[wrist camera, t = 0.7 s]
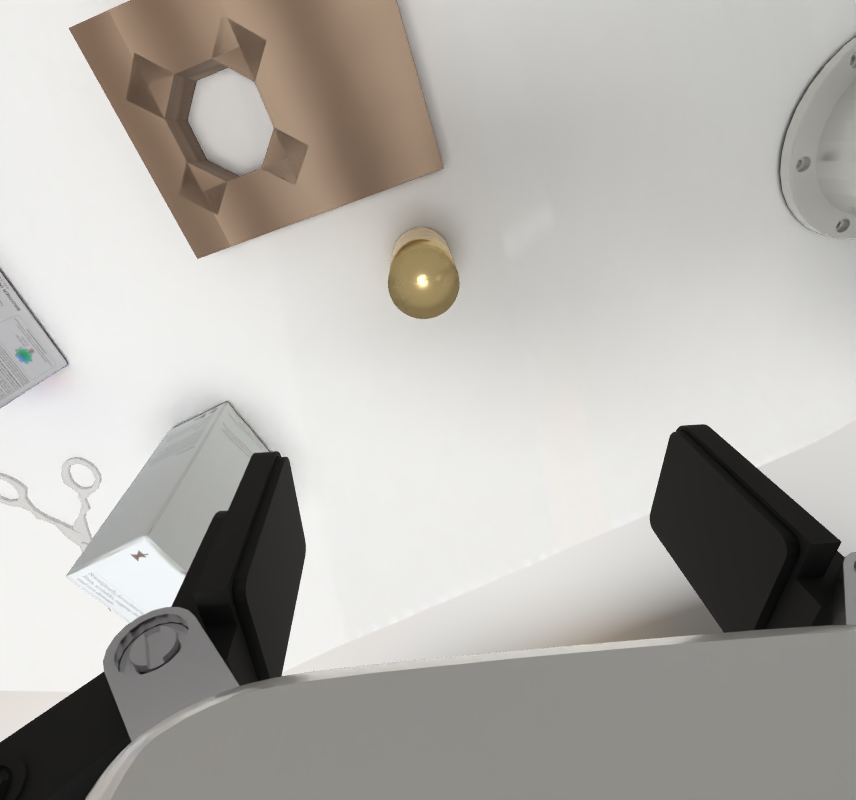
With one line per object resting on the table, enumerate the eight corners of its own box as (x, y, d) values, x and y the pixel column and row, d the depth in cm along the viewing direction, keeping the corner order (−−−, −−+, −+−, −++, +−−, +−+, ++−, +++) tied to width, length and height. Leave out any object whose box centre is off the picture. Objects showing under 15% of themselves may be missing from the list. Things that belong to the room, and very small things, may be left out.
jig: (370, -80, 25) (366, -107, 22) (440, 165, 30) (443, 168, 28) (102, 39, 27) (68, 28, 24) (214, 249, 32) (197, 258, 30)
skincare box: (171, 427, 39) (50, 573, 26) (232, 397, 38) (137, 534, 25) (235, 498, 42) (158, 657, 29) (292, 472, 41) (239, 626, 28)
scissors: (78, 442, 39) (178, 605, 48) (83, 437, 40) (181, 599, 49) (-45, 461, 39) (78, 619, 49) (-37, 456, 40) (83, 612, 49)
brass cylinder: (440, 218, 32) (447, 237, 26) (457, 275, 34) (467, 306, 27) (383, 238, 32) (377, 262, 26) (403, 293, 34) (402, 327, 28)
